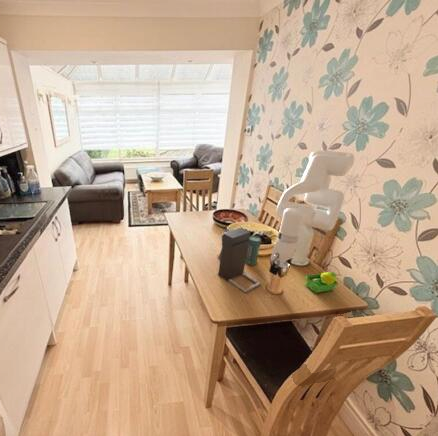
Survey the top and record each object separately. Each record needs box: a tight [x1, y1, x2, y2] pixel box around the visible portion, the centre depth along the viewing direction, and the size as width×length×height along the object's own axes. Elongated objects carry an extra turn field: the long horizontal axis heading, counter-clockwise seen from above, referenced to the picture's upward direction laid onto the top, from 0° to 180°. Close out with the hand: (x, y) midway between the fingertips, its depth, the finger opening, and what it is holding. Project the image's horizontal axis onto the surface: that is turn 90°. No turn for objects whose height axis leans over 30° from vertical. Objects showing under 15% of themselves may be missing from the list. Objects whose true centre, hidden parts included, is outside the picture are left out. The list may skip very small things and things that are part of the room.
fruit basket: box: [305, 271, 339, 294], centre depth 111 cm, size 11×9×11 cm
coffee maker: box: [217, 227, 261, 293], centre depth 115 cm, size 12×17×24 cm
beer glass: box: [266, 259, 291, 295], centre depth 110 cm, size 7×7×15 cm
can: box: [245, 235, 262, 266], centre depth 131 cm, size 6×6×15 cm
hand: (279, 269), depth 108 cm, fingers open, 9 cm apart
